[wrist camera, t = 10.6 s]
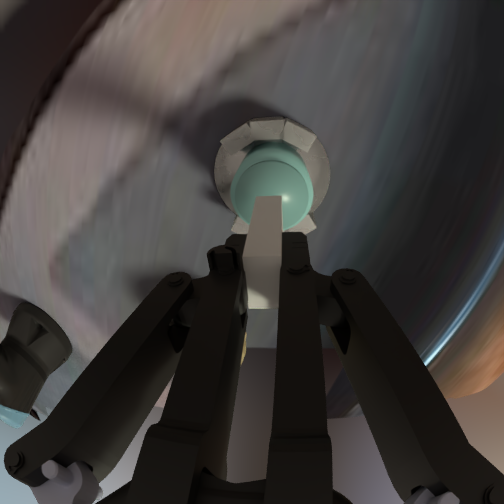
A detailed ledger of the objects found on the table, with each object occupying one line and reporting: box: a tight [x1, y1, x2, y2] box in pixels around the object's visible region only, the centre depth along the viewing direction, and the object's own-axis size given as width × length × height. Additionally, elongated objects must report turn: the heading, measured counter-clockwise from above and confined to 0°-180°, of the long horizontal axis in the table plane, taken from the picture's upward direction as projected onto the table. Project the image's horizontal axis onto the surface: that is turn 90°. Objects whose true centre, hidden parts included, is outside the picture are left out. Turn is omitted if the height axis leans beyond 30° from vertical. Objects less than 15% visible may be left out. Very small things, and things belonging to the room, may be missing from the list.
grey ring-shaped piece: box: [214, 116, 330, 234], centre depth 24 cm, size 10×10×4 cm
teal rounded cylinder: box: [230, 142, 313, 230], centre depth 22 cm, size 6×6×6 cm
